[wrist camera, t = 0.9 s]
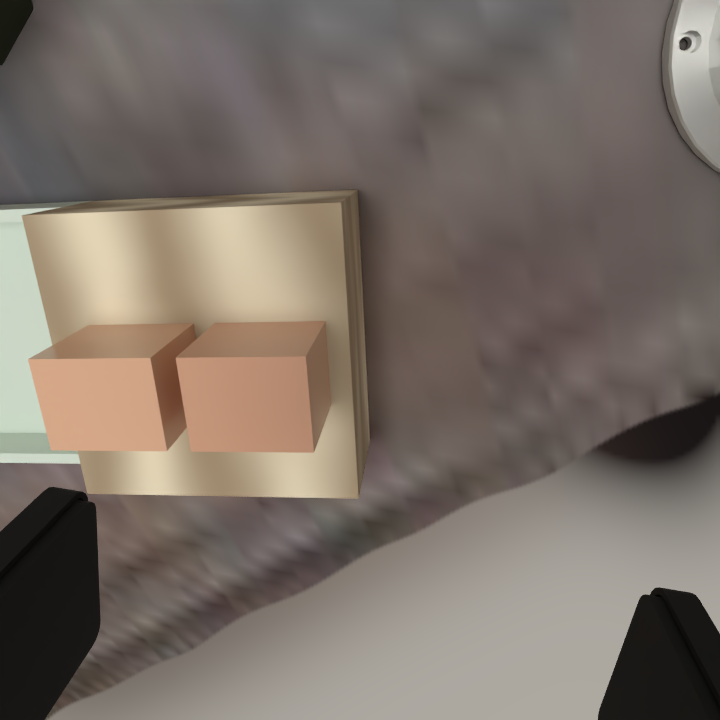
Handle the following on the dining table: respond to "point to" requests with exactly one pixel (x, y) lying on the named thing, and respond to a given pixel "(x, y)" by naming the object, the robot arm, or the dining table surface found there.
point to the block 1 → (113, 387)
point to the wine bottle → (12, 23)
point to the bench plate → (217, 317)
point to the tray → (22, 344)
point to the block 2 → (256, 387)
